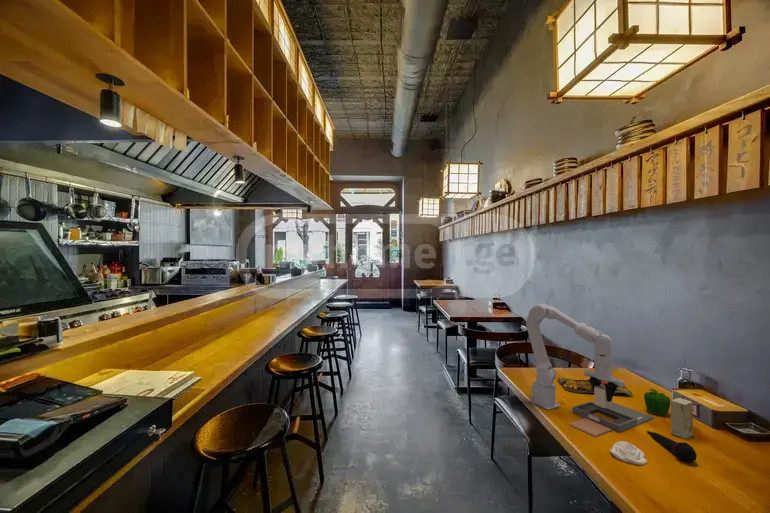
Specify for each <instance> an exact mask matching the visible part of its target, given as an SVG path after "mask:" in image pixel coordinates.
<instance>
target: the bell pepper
mask: <svg viewBox="0 0 770 513" xmlns="http://www.w3.org/2000/svg"><path fill="white" fill-rule="evenodd" d="M648 390H649V392H644V395H643V400H644V403H645V406H646V410H647V411H648V412H649V414H653V415H658V416H662V417H665V416H667V415H668V414H669V411H670V409H671V398H670V397H669V396H667V395H666V394H665V393H664V392H660V393H659V392H658V390H656V389H655V388H651V387H650V388H648Z"/></svg>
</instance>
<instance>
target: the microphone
mask: <svg viewBox="0 0 770 513" xmlns="http://www.w3.org/2000/svg"><path fill="white" fill-rule="evenodd" d="M646 433H647V434H649V435H650V436H651V437H652V438H653V439H654V440H655V441H657V442H658V443H660V444H661V445H662V446H664V447H666V448H667V449H668V450H670V451H672V452H673V453H674V455H675V457H676V458H677V459H679V460H680V461H682V462H684V461H685V462H686V463H693V462H694V461H696V460H697V457H698V454H697V453H696V450H695V449H694V446H691V445H690V444H689V443H686V442H683V441H682V442H678V441H676V440H673V439H671V438H669V437H666V436H664V435H662V434H660V433H657V432H654V431H653V432H652V431H650V430H647V431H646Z"/></svg>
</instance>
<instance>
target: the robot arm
mask: <svg viewBox="0 0 770 513" xmlns="http://www.w3.org/2000/svg"><path fill="white" fill-rule="evenodd" d="M545 318H546V320H555V321H559V322H560V323H561V324H563V325H565V326H567V327H569V328H571V329H573V331H574V332H575V335H577V336H579V337H580V338H582V339H583V340H585V341H586V342H589V343H590V344H593V346H594V349H595V350H594V371H592V370H587V369H586V370H583V376H586V377H589V378H588V379H587V380H589V382H590V384H591V386H592V388H593V391H594V387H596V386H599V385H601V380H602V381H605V382H608V383H607V384H605V388H606V393H607V401H608V402H610V401H612V402H613V397H614V394H615V393H614V392H615V390H616V389H617V387H618V386H619V387H624V386H625V381H624V380H622V379H619V378H616V377H615V376H613V375H612V374H613V372H612V371H613V366H612V364H613V363H612V362H613V361H612V359H613V358H612V357H613V355H612V344H613V341H612V340H613V339H612V338H611V337H610V336H609V335H608V334H607V333H605V332H603V331H602V330H597V329H596V328H594V327H592V326H591V324H590V323H588V322H578V321H576V320H575V319H573V318H572V317H570V316H568V315H567V314H565V313H563V312H562V311H560V310H558V308H556V307H554V306H551V305H549V304H548V303H545V302H540V303H538V304H534V305H533V306H532V308H530V310H528V316H527V318H526V321H525V325H526V330H527V333H528V337H529V341H530V344H531V347H532V353H533V356H534V359H535V363H536V367H535V372H536V374H535V380H534V381H533V382H532V384H531V388H530V392H531V393H530V394H531V395H530V397H531V398H530V400H529V402H531V403H532V404H535V405H536V406H539V407H541V408H543V409H545V410H547V411H548V410H553V409H555V408H559V407H561V405H560V404H559V403H556V397H557V395H556V383H555V379H557V372H556V370H555V369H554V368H553V366H552V363H551V362H550V360H549V356H548V354H547V350H546V347H545V343H544V339H543V335H542V332H541V329H540V324H541V323H542V322H543V320H544V319H545Z"/></svg>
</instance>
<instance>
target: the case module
mask: <svg viewBox="0 0 770 513" xmlns="http://www.w3.org/2000/svg"><path fill="white" fill-rule="evenodd" d="M593 395H594V404H595V405H597V406H600V407H603V408H607V407H610V406H612V402H613V400H612V401H610V402H608V401H607V393H606V388H605V386H604V385H599V386H596V387H594V393H593Z"/></svg>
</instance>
